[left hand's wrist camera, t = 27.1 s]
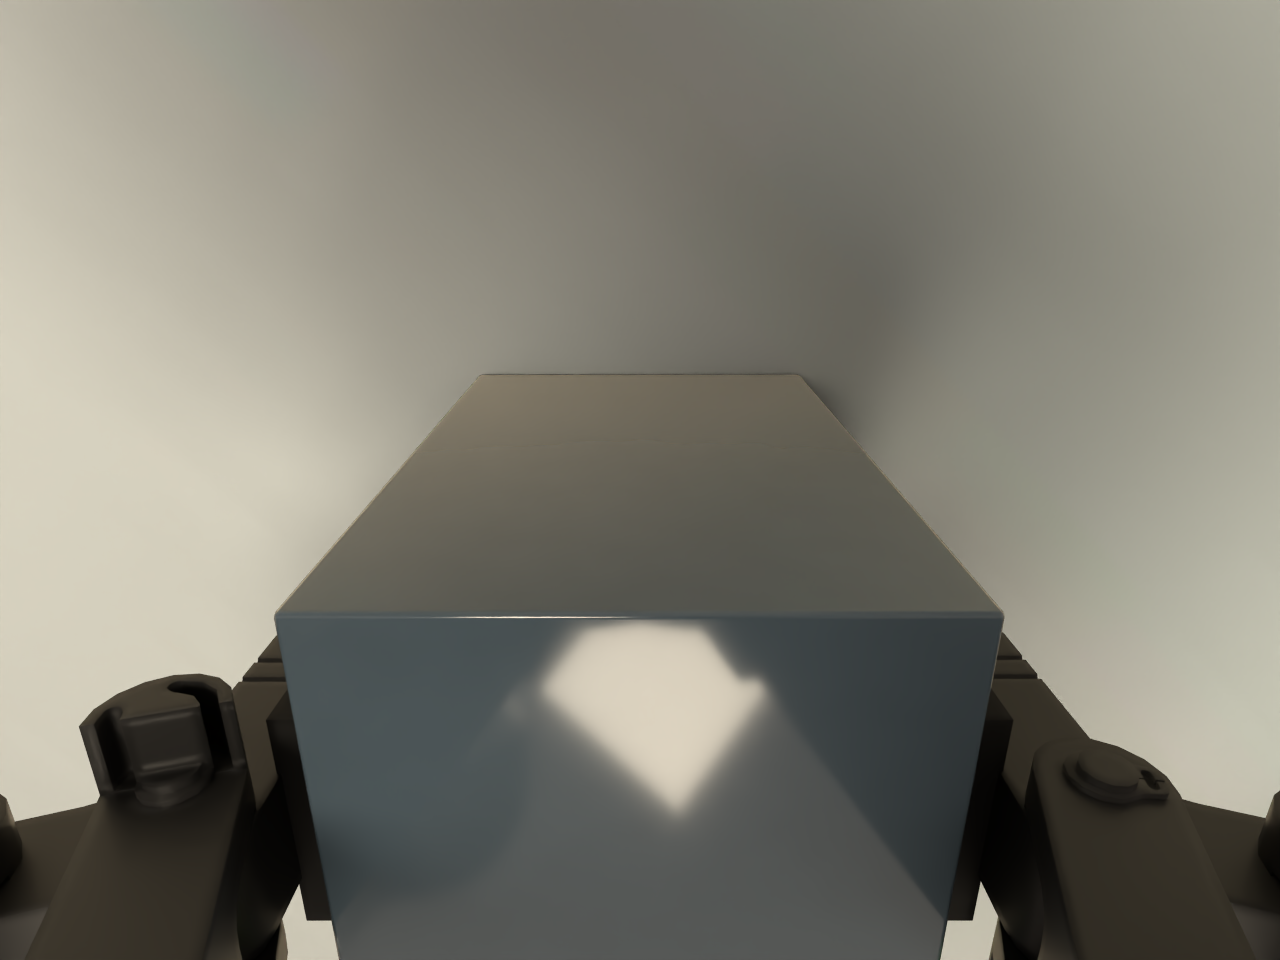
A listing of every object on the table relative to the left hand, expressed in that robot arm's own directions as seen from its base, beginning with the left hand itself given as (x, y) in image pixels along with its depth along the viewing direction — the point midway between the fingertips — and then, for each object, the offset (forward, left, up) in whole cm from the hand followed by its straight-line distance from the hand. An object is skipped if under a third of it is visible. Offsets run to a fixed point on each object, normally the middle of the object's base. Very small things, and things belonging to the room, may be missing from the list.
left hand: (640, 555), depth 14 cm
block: (0, 0, -1) cm, 1 cm away
